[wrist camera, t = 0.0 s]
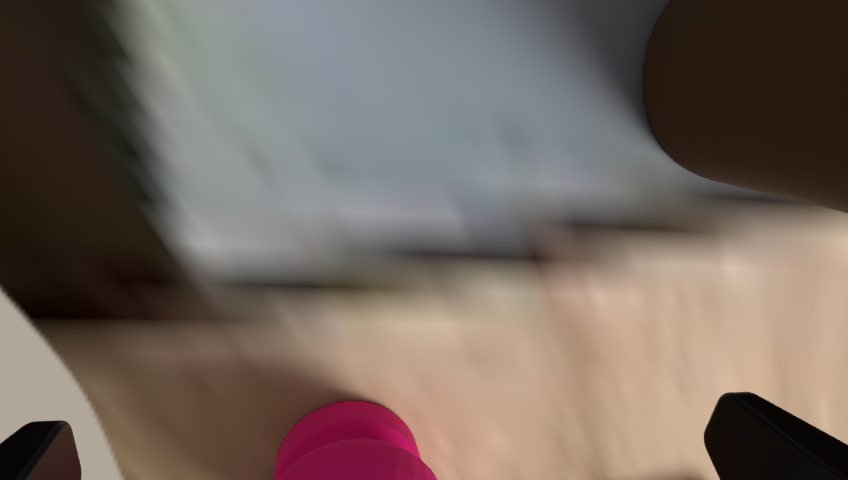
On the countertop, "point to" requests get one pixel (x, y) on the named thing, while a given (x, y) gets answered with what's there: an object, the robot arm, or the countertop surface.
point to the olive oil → (754, 94)
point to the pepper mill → (350, 446)
